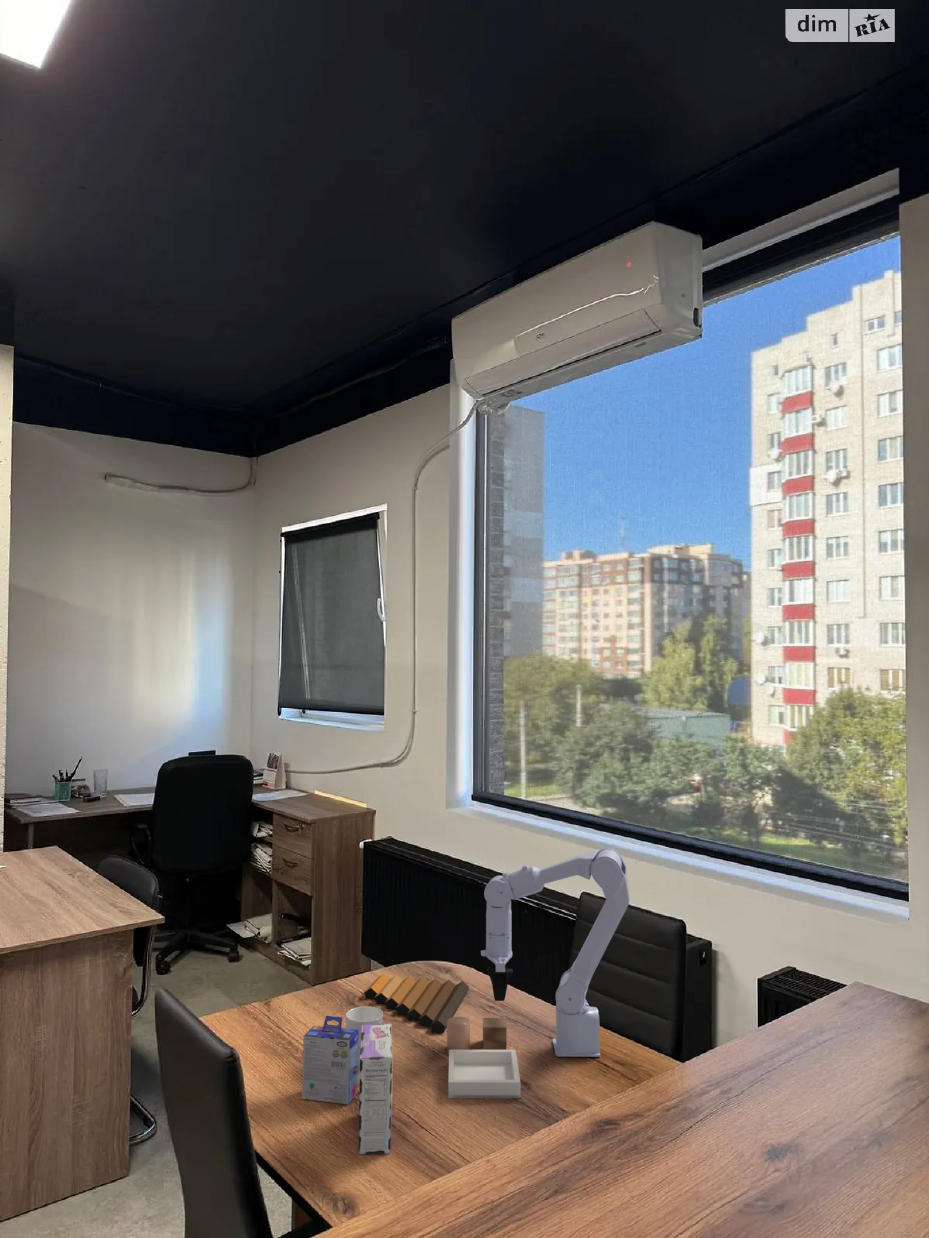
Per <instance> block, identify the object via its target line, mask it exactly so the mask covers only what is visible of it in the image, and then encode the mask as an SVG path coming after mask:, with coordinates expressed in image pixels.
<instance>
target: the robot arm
mask: <svg viewBox="0 0 929 1238" xmlns="http://www.w3.org/2000/svg"><path fill="white" fill-rule="evenodd" d="M575 876H579V877H581V878H584V879H586V880H590V879H591V877H592V879H593V880H594V881H595V883H596V884H597V885H598V886H599V887H600V888H601V891H602V893H603V895H604V897H605V902H604V904H603V906H602V907H601V909H600V911H599V913H598V916H596V919H595V921H594V923H593V926H592V927H591V929H590V931H589V933H588V936H587V938H586V939H585V941H584V943H583V945H582V947H581V949H580V951H579V953H578V955H577V957H576V959H575V960H574V961H573V964H572V965H571V967H570V968H569V969H568V970H566V971H564V973H562V975H561V977H560V981H559V984H558V985H559V986H558V988H557V989H556V991H555V1001H556V1003H555V1038H552V1040H551V1041H552V1045H553V1048H554V1053H555V1057H559V1058H561V1057H564V1058H566V1057H571V1058H574V1057H576V1058H577V1057H579V1058H580V1057H583V1058H586V1057H589V1058H591V1057H593V1058H598V1057H601V1051H600V1048H601V1045H600V1043H601V1041H600V1039H601V1038H600V1037H601V1034H600V1031H601V1030H600V1015H599V1010H598V1008H597V1007H595V1006H590V1005H589V1003H588V1001H587V1000H586V996H587V992H588V989H589V986H590V983H591V980H592V978H593V976H594V973H595V971H596V969H597V967H598V965H599V964H600V961H601V960H602V958H603V956H604V954H605V951H606V950H607V947H608V946H609V943H610V941H611V940H612V938H613V937H614V934H615V932H616V931H617V929H618V926H619V924H620V922H621V920H622V918H623V916H624V915H625V913H626V911H627V909H628V907H629V904H630V899H631V898H630V891H629V890H630V889H629V882H628V881H629V880H628V875H627V865H626V863H625V862H624V859H623V857H622V856H621V854H620V853H619V852H618V851H617V850H616V849H614V848H611V847H604V848H601V849H600V850H591V851H588V852H584V853H582V854H581V853H580V854H579V855H576V856H573V857H571V858H568V859H566V860H563V861H559V862H557V863H554V864H551V865H549V866H547V867H543V868H539V867H537V866H536V865H535V866H534V865H532V866H529V865H528V864H524V865H523V866H522V867H521V869H520V870H516V871H513V872H510V873H508V872H507V871H506V872H504V873H502V875H496V876H493V877H492V878H491V879H490V880H489V882H488V883H487V885H486V886H485V887H484V892H483V896H484V899H485V901H486V912H485V919H486V920H485V924H486V925H485V927H486V928H485V931H486V933H485V939H486V940H485V949H484V950H480V955H481V957H485V959H486V961H487V964H488V965H489V966H487V967H486V972H487V974H488V976H489V979H490V981H491V985H492V994H493V998H494V1002H504V1001H505V999H506V996H507V989H508V986H509V982H510V979H511V977H512V975H513V968H507V966H508V963H509V961H510V959H512V957H513V950H512V900H518V899H521V898H525V897H527V896H530V895H534V894H537V893H539V892H542V891H543V890H544V887H545V885H546V884H549V883H553V882H556V881H560V880H564V879H567V878H571V877H575ZM590 881H591V880H590Z"/></svg>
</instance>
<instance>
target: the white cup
mask: <svg viewBox="0 0 929 1238" xmlns="http://www.w3.org/2000/svg"><path fill="white" fill-rule="evenodd" d="M383 1022H384V1012H383V1010H382V1009H380V1008H378V1007H374V1006H357V1007H354V1008H352V1009H350V1010H348V1011H346V1013H345V1024H346V1025H345V1028H350V1029H358V1070H359V1069H360V1043H361V1030H362V1025H375V1024H384V1023H383Z"/></svg>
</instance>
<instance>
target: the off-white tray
mask: <svg viewBox="0 0 929 1238" xmlns="http://www.w3.org/2000/svg"><path fill="white" fill-rule="evenodd" d="M447 1083H448V1089H447V1090H448V1099H521V1076H520V1070H519V1063H518V1058H517V1051H516V1049H507V1050H484V1049H470V1050H449V1052H448V1082H447Z"/></svg>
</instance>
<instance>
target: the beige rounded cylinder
mask: <svg viewBox="0 0 929 1238" xmlns="http://www.w3.org/2000/svg"><path fill="white" fill-rule="evenodd" d="M470 1047H471V1020H470V1019H469V1018H467V1017H466V1016H465V1017H464V1016H453V1017H452V1018H450V1019H448V1020H447V1028H446V1051H447V1052H448V1053H449V1050H471V1049H470Z"/></svg>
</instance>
